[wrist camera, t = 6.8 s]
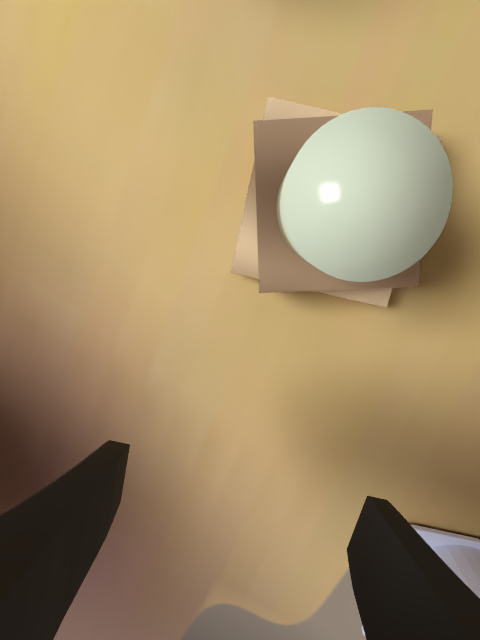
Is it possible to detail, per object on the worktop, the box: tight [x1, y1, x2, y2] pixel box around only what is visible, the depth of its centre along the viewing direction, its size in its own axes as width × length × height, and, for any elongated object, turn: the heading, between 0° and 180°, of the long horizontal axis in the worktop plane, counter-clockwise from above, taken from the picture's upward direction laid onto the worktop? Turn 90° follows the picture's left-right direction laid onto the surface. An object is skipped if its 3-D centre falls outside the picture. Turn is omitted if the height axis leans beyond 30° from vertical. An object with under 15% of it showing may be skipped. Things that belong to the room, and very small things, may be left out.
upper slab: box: [253, 110, 433, 293], centre depth 17 cm, size 7×7×2 cm
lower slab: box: [231, 97, 443, 307], centre depth 18 cm, size 8×8×2 cm
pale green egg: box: [276, 107, 453, 282], centre depth 13 cm, size 5×5×4 cm
